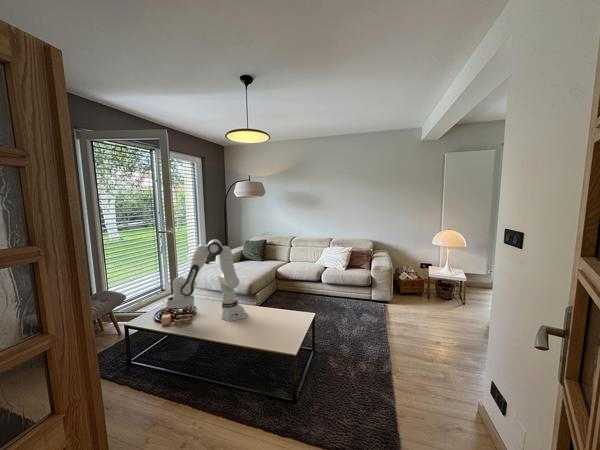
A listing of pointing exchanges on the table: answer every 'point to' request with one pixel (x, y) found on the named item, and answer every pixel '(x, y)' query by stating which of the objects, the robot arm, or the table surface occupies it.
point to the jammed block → (166, 319)
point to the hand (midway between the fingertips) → (180, 311)
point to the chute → (181, 320)
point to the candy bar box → (190, 306)
